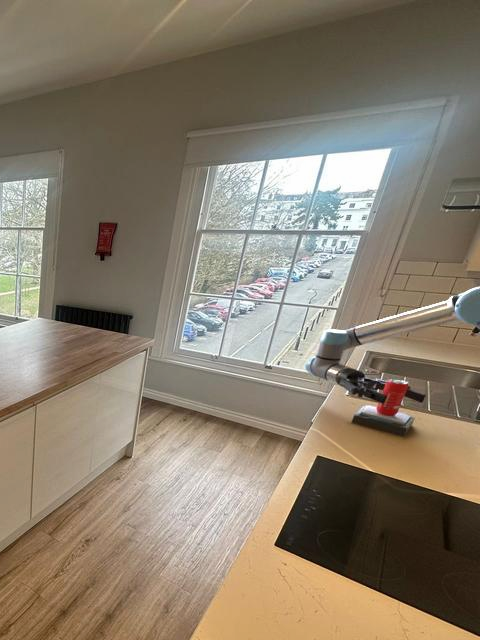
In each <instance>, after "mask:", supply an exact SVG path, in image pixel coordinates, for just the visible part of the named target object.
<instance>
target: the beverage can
mask: <svg viewBox="0 0 480 640" xmlns="http://www.w3.org/2000/svg"><path fill="white" fill-rule="evenodd" d="M386 381H387V382H386V385H385V387H384V390H382V392H381V394H384V395H386V396H387V397H386V400H385V402H384V403H380V402H378V403H377V405H376V407H377V408H376V409H377V413H379V414H382V415H385V416H395V414H397V413H399V410H400V408H401V406H402V403H403V401H404V398H405V393H406V391H407V388H408V386H409V381H406V380H403V379H397V378H389V379H388V380H386Z"/></svg>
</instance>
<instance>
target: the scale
mask: <svg viewBox="0 0 480 640" xmlns="http://www.w3.org/2000/svg"><path fill="white" fill-rule="evenodd" d="M376 408H377V406H372V405H363V406H362V407H361V408H360V409H359V410H358V411H357V412H356V413H355V414H354V415H353V417H352V420H351V422H350V423H352V424H354V425H358V426H363V427H365V428H370V429H373V430H377V431H380V432H383V433H389V434H392V435H395V436H399V437H405V435H406V434H407V433H408V432H409V430H410V429H411V427H412V426H413V424H414V421H415V420H416V419H415V417H413V416H412V415H410V414H406V413H403V412H398V413H397V414H395V416H385V415H382V414H379V413H377V409H376Z"/></svg>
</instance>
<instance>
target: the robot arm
mask: <svg viewBox="0 0 480 640" xmlns="http://www.w3.org/2000/svg"><path fill="white" fill-rule="evenodd" d="M455 322H461V323H466V324H469V325H473V326H474V327H475V328H477V329H478V330H480V285H478V286H476V287H473V288H470V289H468V290H467V291H464V292H461V293H459V294H455V295H452V296H450V297H449V299H447V300H444V301H442V302H438V303H434V304H431V305H429V306H424V307H421V308H418V309H414V310H410V311H407V312H403V313H400V314H397V315H393V316H389V317H386V318H383V319H379V320H376V321H373V322H369V323H366V324H362V325H359V326H355V327H352V328H348V329H343V330H341V329H326V330H324V331H323V334H322V336H321V337H320V342H319V345H318V349H317V351H316V355H315V356H313V357H311V358H309V359H308V361H307V362H306V363H305V370H306V372H307V373H309V374H310V375H313V376H314V377H317V378H320V379H323V380H325V381H328V382H330V383H333V384H334V385H335V386H337V385H338V386H340V387H342V388H344V389H345V390H346V391H348V392H349V394H351V395H353V396H357V398H363V396H364V397H365V398H367V399H370V400H372V401H375V402H378V403H379V402H380V403H384V402H385V400H386V397H387V396H386V395H384V394H382V392H378V390H379V391H383V390H384V387H385V385H386V382H387V381H388V380H384V379H381V378H378V377H374V379H372V378H371V377H366V376H365V373H364V372H363V371H361V370H359V369H356V368H352V367H350V366H348V365H345V364H341V363H340V361H341V359H342V356H343V354H344V351H346V350H348V349H352V348H355V347H361V346H364V345H367V344H371V343H376V342H379V341H382V340H386V339H390V338H395V337H399V336H403V335H406V334H410V333H414V332H418V331H422V330H426V329H431V328H435V327H438V326H442V325H445V324H451V323H455ZM426 396H427V395H426V393H425V394H424V393H422V392H419V391H416V390H414V389H411V386H409V385H408V388H407V391H406V393H405V396H404V398H408V399H410V400H413V401H415V402H418V403H424V400H425V398H426Z"/></svg>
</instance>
